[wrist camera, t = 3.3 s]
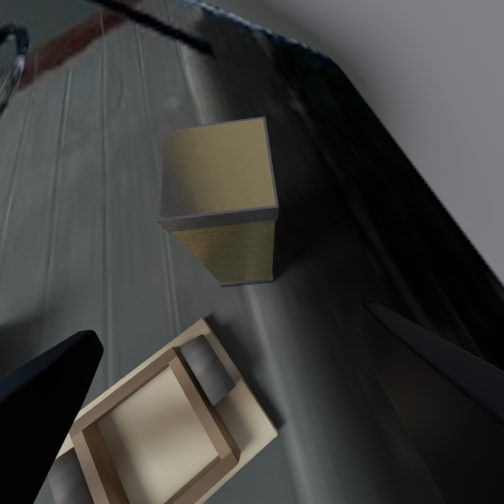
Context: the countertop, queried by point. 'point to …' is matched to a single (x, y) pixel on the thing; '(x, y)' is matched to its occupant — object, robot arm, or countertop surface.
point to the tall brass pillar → (221, 197)
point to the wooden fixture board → (164, 430)
